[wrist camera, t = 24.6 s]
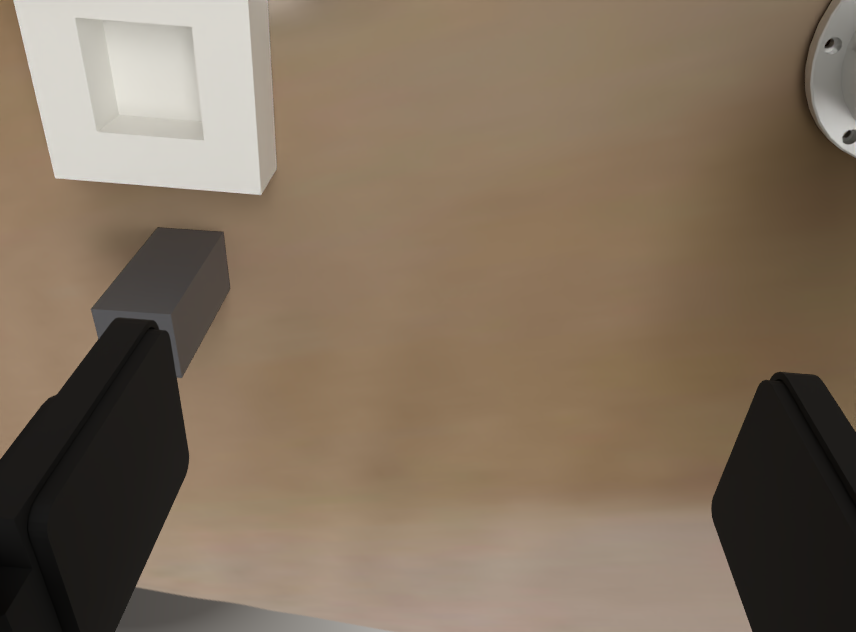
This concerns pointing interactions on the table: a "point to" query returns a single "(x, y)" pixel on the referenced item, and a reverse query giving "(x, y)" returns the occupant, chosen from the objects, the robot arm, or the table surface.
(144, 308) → the plug
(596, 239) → the table surface
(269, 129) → the socket block
